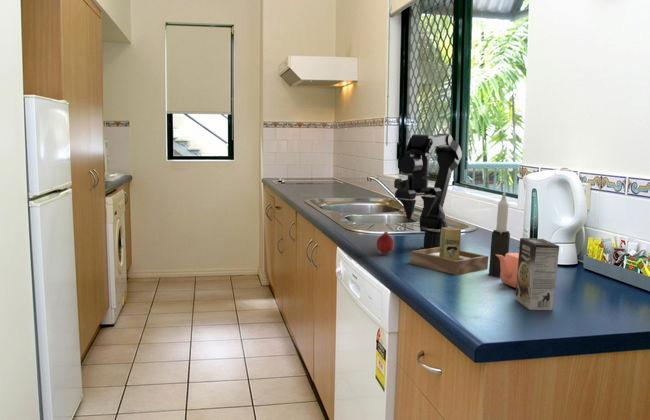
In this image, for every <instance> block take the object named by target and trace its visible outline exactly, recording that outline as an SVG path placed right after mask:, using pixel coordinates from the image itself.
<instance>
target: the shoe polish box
mask: <svg viewBox="0 0 650 420" xmlns="http://www.w3.org/2000/svg"><path fill="white" fill-rule="evenodd" d="M461 235H462V229H460V228H458V227H441V238H440V252H439V257H442V258H447V259H451V260H456V261H458V260H459V253H460V249H461V240H462V239H461V238H462V237H461Z"/></svg>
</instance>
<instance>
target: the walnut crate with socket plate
mask: <svg viewBox="0 0 650 420" xmlns="http://www.w3.org/2000/svg"><path fill="white" fill-rule="evenodd" d="M439 252H440V247H436V248H429V249H418V250H417V249H416V250H411V251H410V262H409V263H410V264H411V265H415V266H419V267H423V268H427V269H432V270H434V271H435V270H436V271H438V272H442V273H448V274H451V275H455V276H456V275H457V276H458V275H462V274H468V273H473V272H477V271H482V270H483V269H484V270H488V269H489V266H488V265H489V255H484V254H480V253H476V252H470V251H465V250H460V253H459V260H458V261H456V260H451V259H447V258H442V257H439Z"/></svg>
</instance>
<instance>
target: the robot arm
mask: <svg viewBox="0 0 650 420" xmlns="http://www.w3.org/2000/svg"><path fill="white" fill-rule="evenodd" d="M433 150H434V152H435V155H436V161H437V164H438V171H437V175H436V177H435V178H436V179H435V182H434V186H428V185H429V180H430V179H432V178H431V177H432V176H431V175H429V170H430V169H429V167H430V159H432V156H431V155H430V154H431V152H432V151H433ZM462 157H463V151H462V149H461V145H460V144H459V143H458V142H457V141H456V140H454V139H453V137H452V134H450V133H436V134H414V133H413V134H412V135H411V136H410V138H409V139H408V143H407V146H406V148H405V150H404V156H402V157H401V158H400V159H399V163H398V168H399V170H400V172H402V173H403V174H406V175H408V176H407V179H404V180H403V179H402V178H400V177H399V178H395V179H394V182H393V188H394V189H395V191H394V198H395V199H397V201H400V203H401V204H402V206H403V208H404V212H405V215H406V219H407V220H411V219H412V216H413V213H414V208H415V207H416V202H417V200H416V198H417V197H419V196H420V198H421V200H422V201H423V207H422V211H421V213H420V216H419V231H420V232H421V233H424V234H423V235H424V236H423V246H419V247H420V250H423V249H429V248H436V247H440V238H441V227H448V224H447V221H446V219H445V218H446V214H445V212H444V211H445V210H444V208H443V207H444V203H445V201H446V200H445V199H446V197H447V193H448V188H449V184H450V180H451V176H452V173H453V171H455V169H457V167H458V166H459V164H460V162H461V159H462Z"/></svg>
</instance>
